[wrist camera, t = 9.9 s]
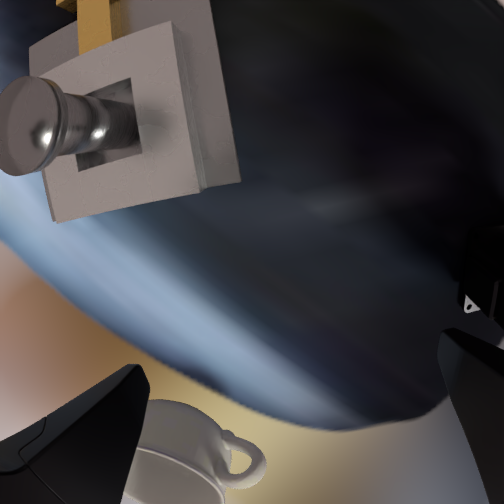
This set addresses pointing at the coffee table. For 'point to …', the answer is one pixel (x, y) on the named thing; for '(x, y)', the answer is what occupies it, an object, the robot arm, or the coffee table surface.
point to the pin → (57, 125)
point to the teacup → (187, 458)
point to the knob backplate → (141, 103)
